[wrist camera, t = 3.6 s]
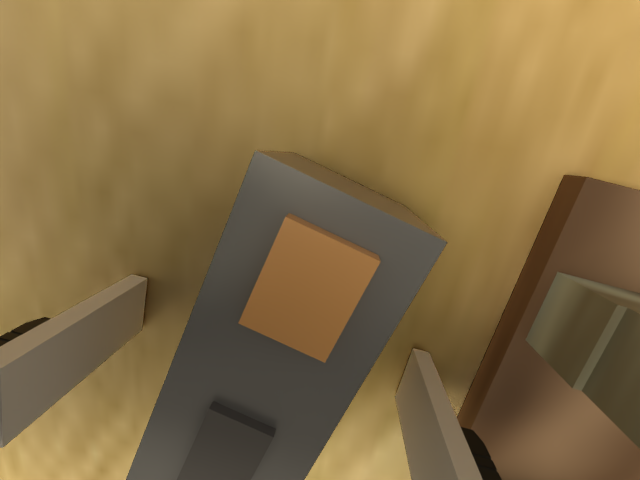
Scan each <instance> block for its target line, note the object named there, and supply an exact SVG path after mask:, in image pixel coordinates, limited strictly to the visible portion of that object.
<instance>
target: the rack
mask: <svg viewBox="0 0 640 480" xmlns="http://www.w3.org/2000/svg"><path fill="white" fill-rule="evenodd" d="M457 420H458V422H459V424H460V427H464V428H467V429H471V430H474V432H475V433H476V434H477V435H478V436H479V438H480V439H481V440H482V441H483V442H484V444H485V446H486V448H487V450H488V452H489V454H490V456H491V460H492V461H493V462H494V465H495V467H496V469H497V472H498V473H499V475H500V477H501V479H502V480H640V190H636V189H632V188H628V187H624V186H620V185H616V184H612V183H608V182H604V181H600V180H596V179H593V178H589V177H581V176H569V175H564V177H563V180H562V182H561V184H560V186H559V189H558V191H557V193H556V195H555V198H554V200H553V202H552V204H551V207H550V209H549V211H548V214H547V216H546V218H545V220H544V223H543V225H542V227H541V229H540V232H539V234H538V236H537V238H536V241H535V243H534V245H533V247H532V250H531V252H530V254H529V257H528V259H527V261H526V263H525V266H524V268H523V270H522V272H521V275H520V277H519V279H518V281H517V284H516V286H515V288H514V290H513V293H512V295H511V297H510V300H509V302H508V304H507V306H506V309H505V311H504V313H503V315H502V318H501V320H500V322H499V324H498V327H497V329H496V331H495V333H494V336H493V338H492V340H491V342H490V345H489V347H488V349H487V352H486V354H485V356H484V358H483V361H482V363H481V365H480V367H479V370H478V372H477V374H476V376H475V379H474V381H473V383H472V385H471V388H470V390H469V392H468V395H467V397H466V399H465V401H464V404H463V406H462V408H461V410H460V413H459V415H458V417H457Z"/></svg>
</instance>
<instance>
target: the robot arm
mask: <svg viewBox="0 0 640 480" xmlns="http://www.w3.org/2000/svg"><path fill="white" fill-rule="evenodd" d="M147 280H148V278H145V277H141V276H137V275H133V274H131V275H129V276H128V277H126V278H124V279H122V280H120V281H118V282H117V283H115V284H113V285H111V286H109V287H108V288H106V289H104V290H102V291H100V292H98V293H97V294H95V295H93V296H91V297H89V298H88V299H86V300H84V301H82V302H80V303H78V304H77V305H75V306H73V307H71V308H69V309H68V310H66V311H64V312H62V313H60V314H58V315H57V316H55V317H53V318H51V319H50V318H47V317H44V318H40V319H37V320H34V321H30V322H27V323H25V324H23V325H21V326H19V327H17V328H15V329H13V330H11V332H8V333H6V334H4V335H2V336H0V447H1V448H3V447H4V446H5V445H7V444H8V443H9V442H10V441H11V440H12V439H14V438H15V437H16V436H17V435H18V434H20V433H21V432H22V431H23V430H24V429H25V428H27V427H28V426H29V425H30V424H31V423H32V422H34V421H35V420H36V419H37V418H38V417H40V416H41V415H42V414H43V413H44V412H45V411H47V410H48V409H49V408H50V407H51V406H53V405H54V404H55V403H56V402H57V401H58V400H60V399H61V398H62V397H63V396H64V395H65V394H67V393H68V392H69V391H70V390H71V389H73V388H74V387H75V386H76V385H77V384H78V383H80V382H81V381H82V380H83V379H84V378H86V377H87V376H88V375H89V374H90V373H91V372H93V371H94V370H95V369H96V368H97V367H98V366H100V365H101V364H102V363H103V362H104V361H106V360H107V359H108V358H109V357H110V356H111V355H113V354H114V353H115V352H116V351H117V350H119V349H120V348H121V347H122V346H123V345H124V344H126V343H127V342H128V341H129V340H130V339H131V338H133V337H134V336H135V335H136V334H137V333H139V332H140V331H141V330H142V326H143V316H144V307H145V298H146V289H147ZM395 399H396V404H397V409H398V414H399V419H400V424H401V429H402V434H403V439H404V444H405V449H406V454H407V459H408V464H409V469H410V474H411V479H412V480H502V479H501V477H500V475H499V473H498V472H497V469H496V467H495V465H494V462H493V461H492V460H491V456H490V454H489V452H488V450H487V448H486V446H485V444H484V442H483V441H482V440H481V439H480V438H479V436H478V435H477V434H476V433H475V432H474V430H471V429H467V428H464V427H460V424H459V422H458V420H457V417H456V415H455V413H454V410H453V408H452V405H451V403H450V401H449V398H448V396H447V393H446V391H445V389H444V386H443V384H442V382H441V379H440V377H439V374H438V372H437V370H436V367H435V365H434V363H433V360H432V358H431V355H430V353H429V352H426V351H422V350H418V349H415V348H413V349H412V352H411V355H410V357H409V360H408V363H407V366H406V368H405V371H404V374H403V376H402V379H401V382H400V385H399V387H398V390H397V393H396V395H395Z"/></svg>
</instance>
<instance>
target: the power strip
mask: <svg viewBox="0 0 640 480" xmlns="http://www.w3.org/2000/svg"><path fill="white" fill-rule="evenodd" d="M446 244H447V242H446V241H445V240H444V239H443V238H442V237H441V236H439V235H438V234H437V233H436V232H435V231H434V230H432V229H431V228H430V227H429V226H428V225H427V224H425V223H424V222H423V221H422V220H421V219H419V218H418V217H417V216H416V215H415V214H414V213H412V212H411V211H410V210H409V209H408V208H407V207H405V206H404V205H402V204H400V203H398V202H396V201H393V200H391V199H389V198H387V197H385V196H383V195H381V194H379V193H377V192H375V191H373V190H371V189H369V188H366V187H364V186H362V185H360V184H358V183H356V182H354V181H352V180H350V179H348V178H346V177H344V176H342V175H339V174H337V173H335V172H333V171H331V170H329V169H327V168H325V167H323V166H321V165H319V164H317V163H315V162H312V161H310V160H308V159H306V158H304V157H302V156H300V155H298V154H296V153H292V152H276V151H260V150H255V152H254V155H253V157H252V160H251V162H250V165H249V167H248V170H247V173H246V175H245V178H244V180H243V183H242V185H241V188H240V190H239V193H238V195H237V198H236V201H235V203H234V206H233V208H232V211H231V213H230V216H229V218H228V221H227V223H226V226H225V229H224V231H223V234H222V236H221V239H220V241H219V244H218V246H217V249H216V251H215V254H214V257H213V259H212V262H211V264H210V267H209V269H208V272H207V274H206V277H205V279H204V282H203V285H202V287H201V290H200V292H199V295H198V297H197V300H196V302H195V305H194V307H193V310H192V313H191V315H190V318H189V320H188V323H187V325H186V328H185V330H184V333H183V336H182V338H181V341H180V343H179V346H178V348H177V351H176V353H175V356H174V358H173V361H172V364H171V366H170V369H169V371H168V374H167V376H166V379H165V381H164V384H163V386H162V389H161V392H160V394H159V397H158V399H157V402H156V404H155V407H154V409H153V412H152V414H151V417H150V420H149V422H148V425H147V427H146V430H145V432H144V435H143V437H142V440H141V442H140V445H139V448H138V450H137V453H136V455H135V458H134V460H133V463H132V465H131V468H130V470H129V473H128V476H127V478H126V480H304V479H305V478H306V476H307V474H308V473H309V471H310V469H311V468H312V466H313V465H314V463H315V461H316V460H317V458H318V456H319V455H320V453H321V451H322V450H323V448H324V446H325V445H326V443H327V441H328V440H329V438H330V436H331V435H332V433H333V431H334V430H335V428H336V426H337V425H338V423H339V421H340V420H341V418H342V416H343V415H344V413H345V411H346V410H347V408H348V406H349V405H350V403H351V401H352V400H353V398H354V397H355V395H356V393H357V392H358V390H359V388H360V387H361V385H362V383H363V382H364V380H365V378H366V377H367V375H368V373H369V372H370V370H371V368H372V367H373V365H374V363H375V362H376V360H377V358H378V357H379V355H380V353H381V352H382V350H383V348H384V347H385V345H386V343H387V342H388V340H389V338H390V337H391V335H392V334H393V332H394V330H395V329H396V327H397V325H398V324H399V322H400V320H401V319H402V317H403V315H404V314H405V312H406V310H407V309H408V307H409V305H410V304H411V302H412V300H413V299H414V297H415V295H416V294H417V292H418V290H419V289H420V287H421V285H422V284H423V282H424V280H425V279H426V277H427V275H428V274H429V272H430V270H431V269H432V267H433V266H434V264H435V262H436V261H437V259H438V257H439V256H440V254H441V252H442V251H443V249H444V247H445V246H446Z"/></svg>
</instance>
